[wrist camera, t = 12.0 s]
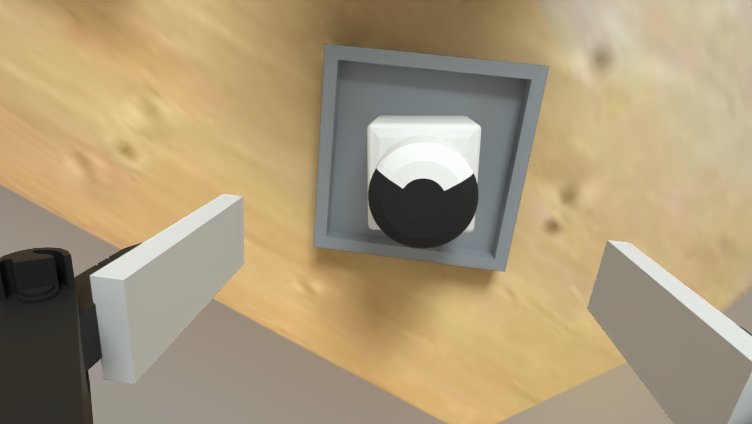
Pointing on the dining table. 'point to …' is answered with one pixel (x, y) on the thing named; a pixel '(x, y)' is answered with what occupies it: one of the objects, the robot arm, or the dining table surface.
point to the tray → (424, 98)
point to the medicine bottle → (422, 177)
